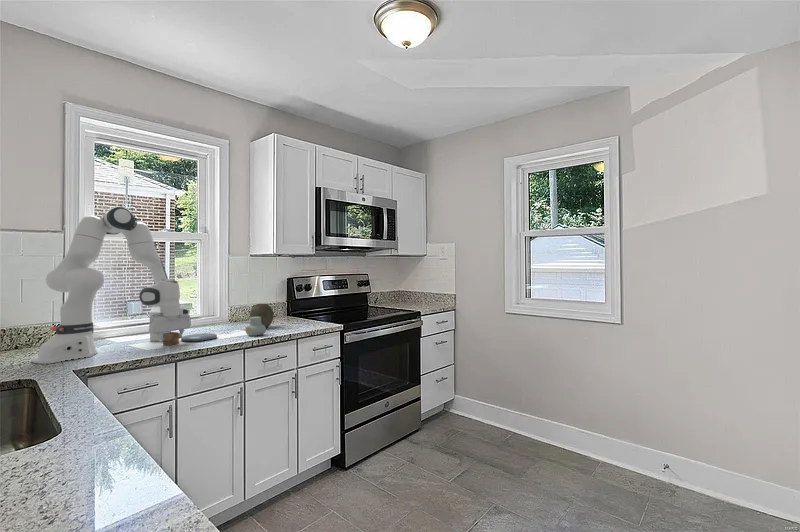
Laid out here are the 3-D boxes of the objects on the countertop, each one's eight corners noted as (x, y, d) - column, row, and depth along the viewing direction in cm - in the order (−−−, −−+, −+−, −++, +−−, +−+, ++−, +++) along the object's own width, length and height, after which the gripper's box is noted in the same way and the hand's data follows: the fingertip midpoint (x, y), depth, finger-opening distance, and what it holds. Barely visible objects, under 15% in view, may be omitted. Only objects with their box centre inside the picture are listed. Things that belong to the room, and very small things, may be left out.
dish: (196, 343, 212) (196, 340, 212) (173, 341, 219) (173, 337, 219) (223, 337, 227) (223, 334, 227) (201, 335, 235) (201, 332, 235)
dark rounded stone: (279, 327, 260) (278, 302, 260) (262, 330, 247) (262, 305, 247) (261, 325, 266) (260, 302, 266) (244, 329, 253) (243, 304, 253)
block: (169, 346, 205) (169, 334, 205) (162, 345, 208) (162, 333, 208) (179, 344, 210) (178, 332, 210) (172, 343, 212) (172, 331, 212)
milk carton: (163, 341, 219) (162, 304, 219) (150, 341, 220) (149, 304, 219) (171, 338, 227) (170, 303, 226) (158, 338, 227) (157, 303, 226)
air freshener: (268, 335, 232) (267, 317, 232) (254, 337, 226) (253, 318, 225) (257, 333, 239) (257, 315, 239) (243, 335, 233) (243, 317, 233)
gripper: (154, 315, 198) (154, 344, 198) (192, 309, 216) (193, 336, 217) (145, 314, 201) (146, 343, 201) (184, 309, 219) (184, 336, 219)
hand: (170, 340), depth 209 cm, fingers open, 8 cm apart
